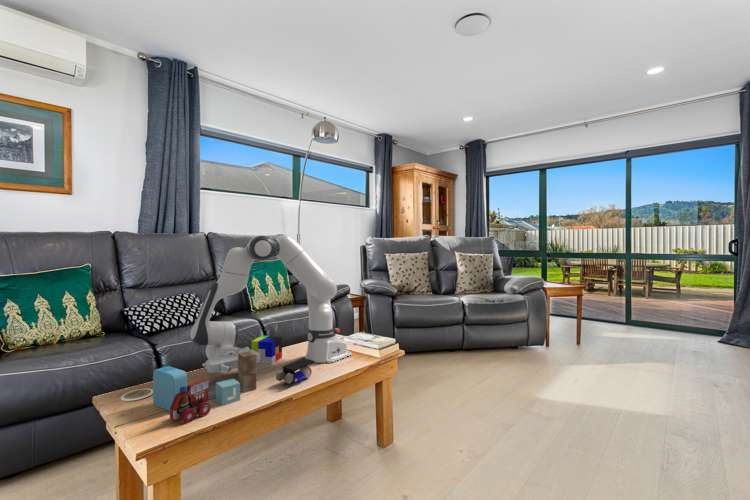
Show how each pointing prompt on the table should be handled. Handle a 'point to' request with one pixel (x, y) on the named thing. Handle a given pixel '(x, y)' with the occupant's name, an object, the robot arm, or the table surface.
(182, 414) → the toy fire truck
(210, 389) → the mat
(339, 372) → the table surface
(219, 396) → the letter cube
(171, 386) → the data package
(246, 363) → the walnut block
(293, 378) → the toy car
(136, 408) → the table surface
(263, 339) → the puzzle toy
